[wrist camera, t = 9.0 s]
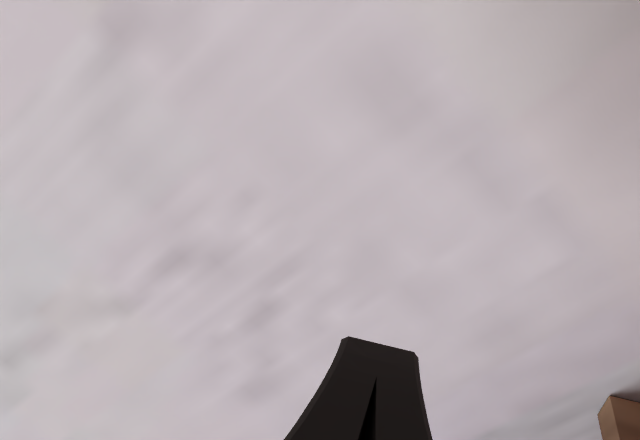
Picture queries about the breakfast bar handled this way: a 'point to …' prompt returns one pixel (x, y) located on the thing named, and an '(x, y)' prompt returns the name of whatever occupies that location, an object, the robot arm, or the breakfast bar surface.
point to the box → (620, 419)
